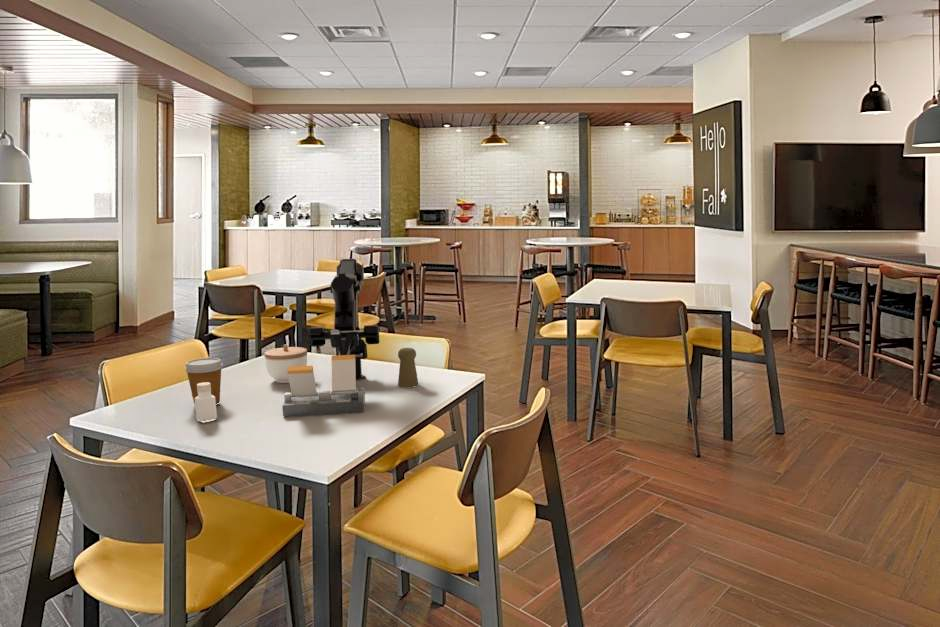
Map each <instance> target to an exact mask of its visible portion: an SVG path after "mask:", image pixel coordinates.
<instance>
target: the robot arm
mask: <svg viewBox="0 0 940 627" xmlns="http://www.w3.org/2000/svg"><path fill="white" fill-rule="evenodd" d="M363 266H364V265H362V264H360V263H359V262H357V259H355V258H342V259H340V260H339V264H338V265H337V266H336V275H335V276H334V277H333V279H332V281H331V282H330V286H329V290H330V294H332V298H333V301H334V319H333V322H334V323H333V329H331V330H330V331H325V328H324V326H315V327H310V328H309V329H308V330H307V331H308V332H307V336H308V337H307V338H308V340H309V345H310V346H311V347H314V348H316V347H323V346H324V345H326V341H330V346H331V348H334V349H335V352H336V353H335V355H355V369H356V381H357V380H362V379H363V380H364V379H366V378H367V376H366V375H364V374H362V360H365V359H367V358H368V347H367V346H368V345H378V344H380V329H379V328H380V327H379V326H378V325H377V324H368V325H363V330H361V329H360V327H358V294H359V293H360V291H361V290H362V289H363V282H364V281H365V271H364V267H363Z"/></svg>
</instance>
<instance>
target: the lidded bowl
mask: <svg viewBox="0 0 940 627" xmlns="http://www.w3.org/2000/svg"><path fill="white" fill-rule="evenodd" d="M264 362H265V367H266V370H267V373H268V375H269V376H270V377H271V378H272V379H273V380H275V382H276V383H279V384H290V382H289V377H288V372H287V369H288V367H292V366H308V349H307V348H306V347H300V346H289V345H288V344H283V346H282V347H276V348H272V349H268V350H266V351H264Z"/></svg>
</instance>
